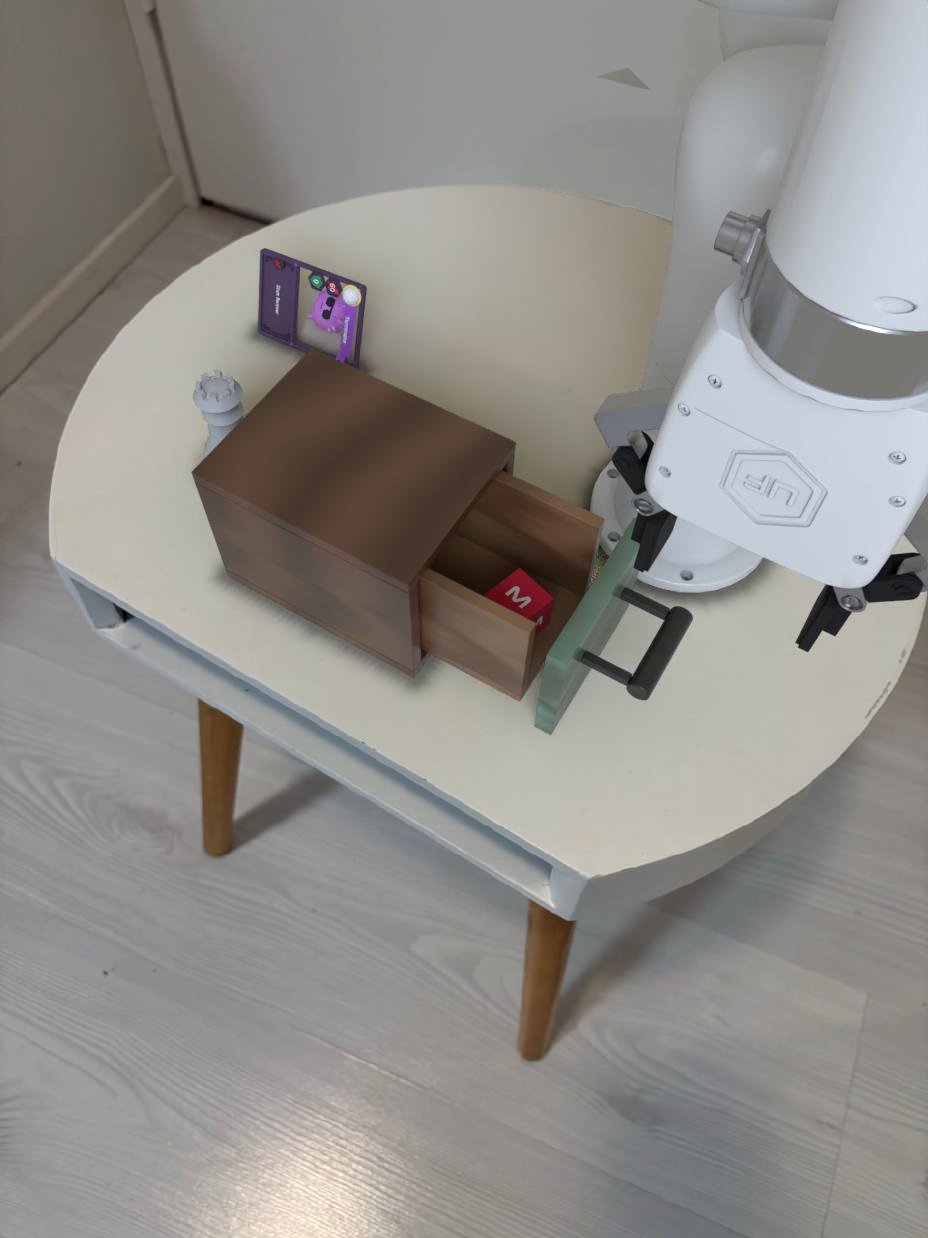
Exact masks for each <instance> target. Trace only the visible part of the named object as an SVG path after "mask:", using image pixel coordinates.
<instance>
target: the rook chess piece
mask: <svg viewBox="0 0 928 1238" xmlns="http://www.w3.org/2000/svg"><path fill="white" fill-rule="evenodd" d="M200 379H201V381H200V380H196V381H195V387H194V390H193V393H192V394H193V395H192V400H193V402H194V406H196V407H197V408H198V409H200V410H201V413H200V415H201V417H202V419H203V420H204V421H205V422H206V423H207V430H208V436H207V438H206V441H205V443H204V449H203V459H204V458H205V457H206V456H207V455H208V454H209V453H210V452H211V451H212V450H213V449H214V448H215V447H216V446H217V445H218V444H219V443H220V442H221V441H222V440H223V439H224V438H225V437H226V436H227V435H228V434H229V433H230V432H231V431H232V429H233V428H234V427H235V426H236V425H237V424H238V423H239V422H240V421H241V420H242V419H243V418H244V415H243V414H244V408H245V407H244V404H243V402H242V401H241V400H242V399H243V394H244V390H243V388H242V385H241V384H240V383H239V381H237V380H236V379H235V378H234V377H233V375H232V374H231V373H229V372H226V373H225V374H224V375H223V371H222V369H213V375H210V374H208V371H205V372H204V373H201V375H200Z"/></svg>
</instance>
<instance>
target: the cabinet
mask: <svg viewBox="0 0 928 1238" xmlns="http://www.w3.org/2000/svg"><path fill="white" fill-rule="evenodd" d="M516 447H517V442H516V441H515V440H512V439H511V438H508V437H506V436H504V435H502V434H499V433H498V432H495V431H494V430H491V429H488V428H487V427H484V426H482V425H480V424H478V423H476V422H473V421H471V420H469V419H467V418H465V417H463V416H460V415H458V414H456V413H454V412H452V411H450V410H447V409H445V408H443V407H441V406H438V405H436V404H435V403H432V402H430V401H427V400H426V399H423V398H421V397H419V396H416V395H414V394H412V393H411V392H408V391H406V390H404V389H402V388H399V387H397V386H396V385H393V384H391V383H389V382H386V381H384V380H382V379H381V378H377V377H375V376H373V375H371V374H369V373H366V372H365V371H362V370H360V369H359V368H358V369H356V368H354V367H352V366H349V365H347V364H345V363H343V362H341V361H338V360H336V359H334V358H332V357H330V356H328V355H325V354H323V353H321V352H319V351H317V350H314V349H312V348H311V349H310V350H309V351H308V352H306V353H305V354H304V355H303V356H302V357H301V358H300V359H299V360H298V361H297V362H296V363H295V364H294V365H293V366H292V367H291V368H290V369H289V371H287V372H286V374H284V375H283V376H282V377H281V378H280V380H279V381H278V382H276V384H275V385H274V386H273V387H272V388H271V389H270V390H269V391H268V392H267V393H266V394H265V395H264V396H263V397H262V398H261V399H260V400H259V401H258V402H257V403H256V404H255V406H253V408H252V409H251V410H250V411H248V413H247V414H246V415H245V416H243V419H242V420H241V421H240V422H239V423H238V424H237V425H236V426H235V427H234V428H233V429H232V431H231V432H230V433H229V434H228V435H227V436H226V437H225V438H224V439H223V440H222V441H221V442H220V443H219V444H218V445H217V446H216V447H215V448H214V449H213V450H212V451H211V452H210V453H209V454H208V455H207V456H206V457H205V458H204V457H203V459H202V460H201V461H200V462H199V463H198V464H197V465H196V467H195V468H194V469H192V471H190V472H191V475H192V479H193V481H194V484H195V487H196V490H197V493H198V496H199V499H200V501H201V505H202V507H203V510H204V512H205V516H206V518H207V521H208V524H209V527H210V530H211V532H212V535H213V538H214V541H215V544H216V547H217V550H218V553H219V556H220V558H221V561H222V564H223V566H224V569H225V572H226V575H227V577H229V578H230V579H232V580H234V581H236V582H238V583H240V584H241V585H244V587H247V588H249V589H251V590H252V591H254V592H256V593H258V594H260V595H262V596H263V597H265V598H267V599H269V600H271V601H273V602H275V603H277V604H278V605H280V606H281V607H284V608H286V609H287V610H289V611H291V612H293V613H295V614H296V615H298V616H300V617H301V618H304V619H305V620H307V621H309V622H311V623H312V624H315V625H316V626H318V627H320V628H321V629H324V630H326V631H327V632H329V633H331V634H333V635H335V636H336V637H338V638H340V639H342V640H344V641H345V642H347V643H349V644H350V645H353V646H354V647H356V648H359V649H360V650H362V651H364V652H366V653H367V654H369V655H371V656H373V657H375V658H376V659H379V660H380V661H382V662H384V663H386V664H387V665H389V666H391V667H393V668H395V669H396V670H398V671H400V672H402V673H404V674H405V675H407V676H409V677H411V678H413V679H415V678H416V677H417V676H418V674H419V672H420V671H421V670H422V668H423V667H424V665H425V664H426V663H427V661H428V660H429V658H430V657H431V656H432V655H431V654H429V653H427V652H426V651H424V650H422V649H421V645H420V625H419V605H418V585H417V582H418V581H419V579H420V578H421V577H422V575H423V574H424V573H425V571H426V570H427V569H428V567H429V566H430V565H431V563H432V562H433V561H434V559H435V558H436V557H437V555H438V554H439V553H440V551H441V550H442V549H443V547H444V546H445V545H446V543H447V542H448V541H449V539H450V538H451V537H452V535H453V534H454V533H455V531H456V530H457V529H458V527H459V526H460V525H461V523H462V522H463V521H464V519H465V518H466V517H467V515H468V514H469V513H470V511H471V510H472V509H473V507H474V506H475V505H476V503H477V502H478V501H479V499H480V498H481V497H482V495H483V494H484V493H485V491H486V490H487V489H488V487H489V486H490V485H491V483H492V482H493V481H494V479H495V478H496V477H497V475H498V474H499V473H500V471H501V470H502V471H504V472H507V473H509V474H511V475H513V476H514V470H515V469H514V468H515V457H516Z"/></svg>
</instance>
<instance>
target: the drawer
mask: <svg viewBox="0 0 928 1238" xmlns="http://www.w3.org/2000/svg"><path fill="white" fill-rule="evenodd" d="M604 521H605V519H604V518H602V517H600V516H598V515H596V514H594V513H592V512H590V510H587V509H585V508H583V507H581V506H579V505H577V504H574V503H572V502H570V501H568V500H567V499H564V498H561V497H559V496H558V495H556V494H553V493H551V492H549V491H547V490H545V489H543V488H540V487H539V486H536V485H534V484H532V483H530V482H527V481H526V480H524V479H521V478H519V477H517V476H515V475H514V474H513V475H511V474H509V473H507V472H504V471H502V470H501V471H500V473H499V474H498V475H497V477H496V478H495V479H494V481H493V482H492V483H491V485H490V486H489V487H488V489H487V490H486V491H485V493H484V494H483V495H482V497H481V498H480V499H479V501H478V502H477V503H476V505H475V506H474V507H473V509H472V510H471V511H470V513H469V514H468V515H467V517H466V518H465V519H464V521H463V522H462V523H461V525H460V526H459V527H458V529H457V530H456V531H455V533H454V534H453V535H452V537H451V538H450V539H449V541H448V542H447V543H446V545H445V546H444V547H443V549H442V550H441V551H440V553H439V554H438V555H437V557H436V558H435V559H434V561H433V562H432V563H431V565H430V566H429V567H428V569H427V570H426V571H425V573H424V574H423V575H422V577H421V578H420V579H419V581H418V582H417V585H418V605H419V625H420V645H421V649H422V650H424V651H426V652H427V653H429V654H431V655H430V656H433V657H435V658H437V659H439V660H441V661H443V662H444V663H446V664H448V665H450V666H451V667H453V668H455V669H457V670H459V671H461V672H463V673H465V674H466V675H468V676H470V677H472V678H474V679H476V680H478V681H480V682H482V683H483V684H485V685H487V686H489V687H491V688H493V689H494V690H497V691H498V692H500V693H502V694H504V695H506V696H507V697H510V698H511V699H513V700H515V701H517V702H519V703H520V702H522V700H523V698H524V697H525V695H526V694H527V692H528V690H529V689H530V687H531V686H532V684H533V682H534V681H535V679H536V678H537V676H538V674H539V673H540V672H541V671H542V668H543V673H542V678H541V683H540V688H539V695H538V698H537V699H538V700H537V706H536V712H535V717H534V723H533V727H535V729H538V730H540V731H542V732H543V733H545V734H547V735H549V736H552V734H553V733H554V731H555V729H556V728H557V726H558V725H559V723H560V721H561V720H562V718H563V717H564V715H565V713H566V711H567V710H568V708H569V707H570V704H571V703H572V701H573V700H574V698H575V697H576V695H577V693H578V691H579V690H580V688H581V687H582V685H583V684H584V682H585V680H586V678H587V676H588V675H589V673H590V672H591V670H593V671H596V672H598V673H600V674H602V675H603V676H605V677H608V678H609V679H612V680H613V681H615V682H618V683H619V684H621V685H623V686H625V687H626V688H625V689H626V692H627V693H628V694H629V695H630V696H631V697H632V698H634V699H636V700H639V701H648V700H649V699H650V697H651V696H652V694H653V692H654V690H655V689H656V687H657V685H658V683H659V681H660V680H661V678H662V676H663V675H664V672H665V671H666V669H667V667H668V665H669V663H670V662H671V660H672V658H673V656H674V655H675V652H676V651H677V649H678V647H680V644H681V642H682V640H683V639H684V637H685V635H686V633H687V631H688V630H689V627H690V626H691V624H692V623H693V620H694V616H693V614H692V612H691V611H689V609H688V608H685V607H683V606H680V605H675V606H672V607H671V608H670V607H669V606H666V605H664V604H662V603H660V602H658V601H656V600H653V599H652V598H650V597H649V596H648V597H647V596H645V594H644V595H643V594H641V593H640V592H637V591H635V586H636V583H637V580H638V579H637V577H638V573H639V571H638V570H636V569H634V568H633V567H634V563H635V560H636V557H637V553H638V550H639V546H640V544H639V543H637V542H635V541H633V540H631V536H632V532H633V529H634V525H635V521H636V518H635V517H634V518H633V520H632V521H631V523H630V524H629V526H628V528H627V529H626V531H625V532H624V534H623V535H622V537H621V539H620V540H619V542H618V543H617V545H616V546H615V548H614V550H613V551H612V553H611V554H610V556H608V557H607V559H606V560H605V562H604V564H603V565H602V567H601V568H600V570H599V572H598V573H597V575H596V576H595V578H594V579H593V581H592V577H593V572H594V568H595V565H596V560H597V556H598V551H599V547H600V544H599V543H600V539H601V535H602V530H603V526H604ZM519 568H520V569H521V570H523V571H524V572H525V573H526V574H527V575H528V576H529V577H530V578H531V579H533V580H534V581H535V582H536V583H537V584H538V585H539V586H540V587H542V588H543V589H544V590H545V591H546V592H547V593H548V594H549V595H550V596H552V597H553V598H554V601H553V606H552V612H551V618H550V623H549V625H548V626H546V627H545V628H544V629H543V630H541V631H540V632H539V633H538V634H536V635H535V629H536V623H535V622H533V621H531V620H529V619H527V618H525V617H523V616H521V615H519V614H517V613H515V612H513V611H511V610H510V609H508V608H506V607H504V606H502V605H500V604H498V603H496V602H494V601H492V600H490V599H488V598H486V597H484V595H485V594H486V593H487V592H489V591H490V590H491V589H492V588H494V587H495V586H496V585H498V584H499V583H500V582H502V581H503V580H504V579H506V578H507V577H508V576H510V575H511V574H512V573H513V572H515V571H516V570H517V569H519ZM630 605H632V606H633V607H635V608H638V609H640V610H641V611H643V612H646V613H648V614H650V615H651V616H654V617H656V618H658V619H660V620H662V621H663V622H662V623H661V625H660V627H659V629H658V630H657V632H656V634H655V635H654V637H653V639H652V641H651V643H650V644H649V646H648V648H647V650H646V651H645V652H644V655H643V656H642V658H641V660H640V661H639V663H638V665H637V667H636V668H635V670H634V672H633V673H632V672H630V671H628V670H626V669H624V668H621V667H620V666H618V665H616V664H614V663H612V662H610V661H608V660H606V659H604V658H603V657H600V655H601V653H602V652H603V650H604V648H606V645H607V644H608V642H609V640H610V638H611V637H612V635H613V634H614V632H615V630H616V628H617V627H618V625H619V624H620V622H621V621H622V619H623V617H624V616H625V614H626V612H627V610H628V609H629V606H630Z"/></svg>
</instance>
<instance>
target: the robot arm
mask: <svg viewBox="0 0 928 1238" xmlns="http://www.w3.org/2000/svg"><path fill="white" fill-rule="evenodd" d="M697 1H698V2H700V3H702V4H703V5H706V6H709V7H712V8H714V9H718V37H719V47H720V48H719V49H720V53H721V57H722V61H721V62H720V63H718V64H717V65H715V66H714V67H713V68H712V69H711V70H709V72H708V73H707V74H706V75H705V76H704V77H703V78H702V79H701V81H700V82H699V83H698V85H697V86H696V88H695V90H694V91H693V93H692V95H691V97H690V99H689V101H688V104H687V106H686V109H685V112H684V115H683V119H682V123H681V128H680V130H679V135H678V142H677V150H676V156H675V163H674V164H675V165H674V180H673V182H674V183H673V199H672V213H671V214H672V215H671V229H670V236H669V237H670V238H669V246H668V255H667V263H666V268H665V275H664V281H663V286H662V291H661V295H660V300H659V305H658V309H657V313H656V318H655V323H654V326H653V331H652V335H651V339H650V340H651V341H650V345H649V348H648V353H647V357H646V361H645V365H644V370H643V374H642V378H641V382H640V386H639V390H638V391H637V390H636V391H629V392H622V393H613V394H610V395H608V396H607V397H606V398H605V399H604V401H603V402H602V404H600V407H598V409H597V411H596V412H595V413H594V414H593V420H594V423H595V425H596V426H597V429H598V431H599V432H600V434H601V436H602V438H603V440H604V442H605V444H606V446H607V448H610V449H611V451H612V453H613V454H612V456H611V461H609V462H608V464H607V465H606V466H605V467H604V468H603V469H602V471H601V472H600V473H599V475H598V477H597V479H596V481H595V483H594V485H593V486H594V487H593V489H592V492H591V493H592V494H591V498H590V505H589V511H590V512H592V513H594V514H596V515H598V516H600V517H602V518H604V519H605V521H604V526H603V530H602V535H601V539H600V543H599V546H600V547H601V549H602V550H603V552H604V553H605V554H606V555H607V556H608V557H609V556H610V554H611V553H612V551H613V550H614V548H615V546H616V545H617V543H618V542H619V540H620V539H621V537H622V535H623V534H624V532H625V531H626V529H627V528H628V526H629V524H630V523H631V521H632V520H633V518H634V517H635V518H636V521H635V525H634V529H633V532H632V536H631V540H633V541H635V542H637V543H639V544H640V546H639V550H638V553H637V557H636V560H635V563H634V567H633V568H634V569H636V570H638V571H639V573H638V577H637V580H639V582H640V581H641V582H642V583H644V584H646V585H650V586H652V587H656V588H657V589H661V590H666V591H672V592H676V593H693V594H694V593H695V594H697V593H707V592H714V591H717V590H720V589H724V588H727V587H731V586H732V585H734V584H736V583H737V582H739V581H741V580H743V579H746V578H747V577H748V575H749V574H751V573H752V572H753V571H754V570H756V569H757V567H759V565H760V563H761V562H762V560H763V559H766V560H768V561H771V562H773V563H775V564H777V565H779V566H781V567H783V568H787V569H789V570H790V571H793V572H794V573H797V574H800V575H802V576H805V577H806V578H809V579H812V580H814V581H816V582H820V583H822V584H824V587H823V588H822V589H821V591H820V593H819V595H817V598H816V600H815V601H814V603H813V605H812V608H811V609H810V612H809V613H808V616H807V617H806V620H805V621H804V624H803V626H802V627H801V629H800V632H799V634H798V636H797V638H796V640H795V642H794V643H795V644H796V645H798V646H797V648H798V649H800V650H802V651H804V652H806V653H809V652H810V650H811V649H812V648H813V646H814V644H815V643H816V642H817V640H818V638H819V637H820V635H821V633H822V632H825V633H827V634H828V635H831V636H833V637H836V636H837V635H838V633H839V632H840V631H841V629H842V628H843V626H844V625H845V623H846V622H847V620H848V619H849V617H850V616H851V615H852V613H862V612H864V611H865V610H866V608H867V606H868V604H874V603H887V602H901V601H902V602H903V601H914V600H916V599H918V598H919V597H920V595H921V593H926V592H928V0H697ZM903 536H904V537H905V538H906V539H907V540H908V542H909V543H910V544H911V546H912V547H913V548H914V549H915V550H916V552H914V551H913V552H903V553H902V552H901V553H894V550H895V549H896V548H897V546H898V544H899V543H900V541H901V539H902V537H903Z"/></svg>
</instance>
